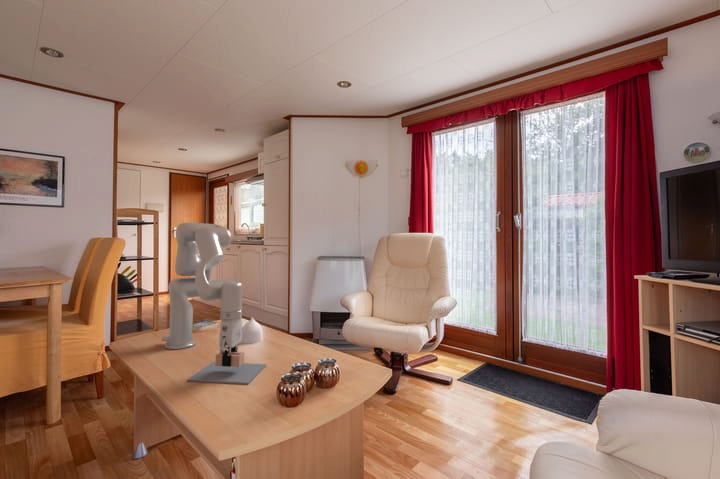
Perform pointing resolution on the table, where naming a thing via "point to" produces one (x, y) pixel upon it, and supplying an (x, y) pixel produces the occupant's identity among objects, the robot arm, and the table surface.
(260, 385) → the table surface
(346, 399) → the table surface
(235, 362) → the pinkish tan grooved block
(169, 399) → the table surface
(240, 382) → the mat
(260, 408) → the table surface
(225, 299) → the robot arm
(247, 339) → the white rounded dome
